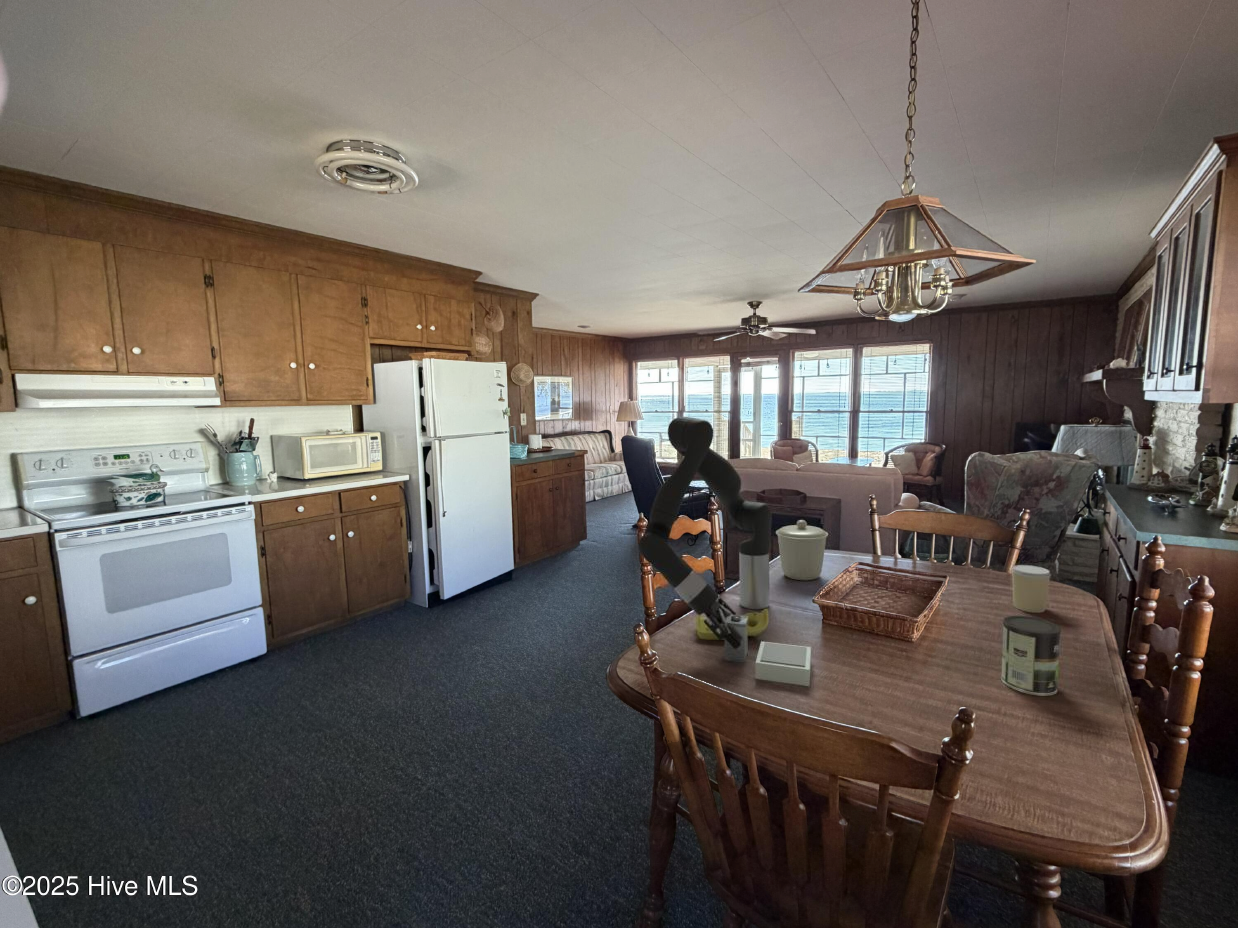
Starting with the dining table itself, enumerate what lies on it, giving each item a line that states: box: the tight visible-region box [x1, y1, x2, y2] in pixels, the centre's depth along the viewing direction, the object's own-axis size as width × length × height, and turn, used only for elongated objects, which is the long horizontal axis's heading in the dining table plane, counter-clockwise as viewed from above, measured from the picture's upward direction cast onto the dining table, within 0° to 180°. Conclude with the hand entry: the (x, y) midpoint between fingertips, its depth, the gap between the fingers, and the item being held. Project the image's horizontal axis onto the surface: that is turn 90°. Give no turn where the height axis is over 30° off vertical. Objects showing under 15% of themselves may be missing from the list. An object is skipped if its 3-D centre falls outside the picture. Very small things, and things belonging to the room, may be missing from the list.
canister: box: [775, 519, 829, 581], centre depth 202 cm, size 18×18×21 cm
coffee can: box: [1000, 615, 1062, 697], centre depth 123 cm, size 10×10×14 cm
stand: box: [755, 640, 812, 687], centre depth 133 cm, size 12×12×4 cm
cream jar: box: [1011, 564, 1052, 613], centre depth 166 cm, size 9×9×12 cm
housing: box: [724, 614, 749, 663], centre depth 141 cm, size 5×5×11 cm
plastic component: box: [695, 608, 770, 641], centre depth 155 cm, size 20×7×10 cm
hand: (741, 639), depth 140 cm, fingers open, 8 cm apart
